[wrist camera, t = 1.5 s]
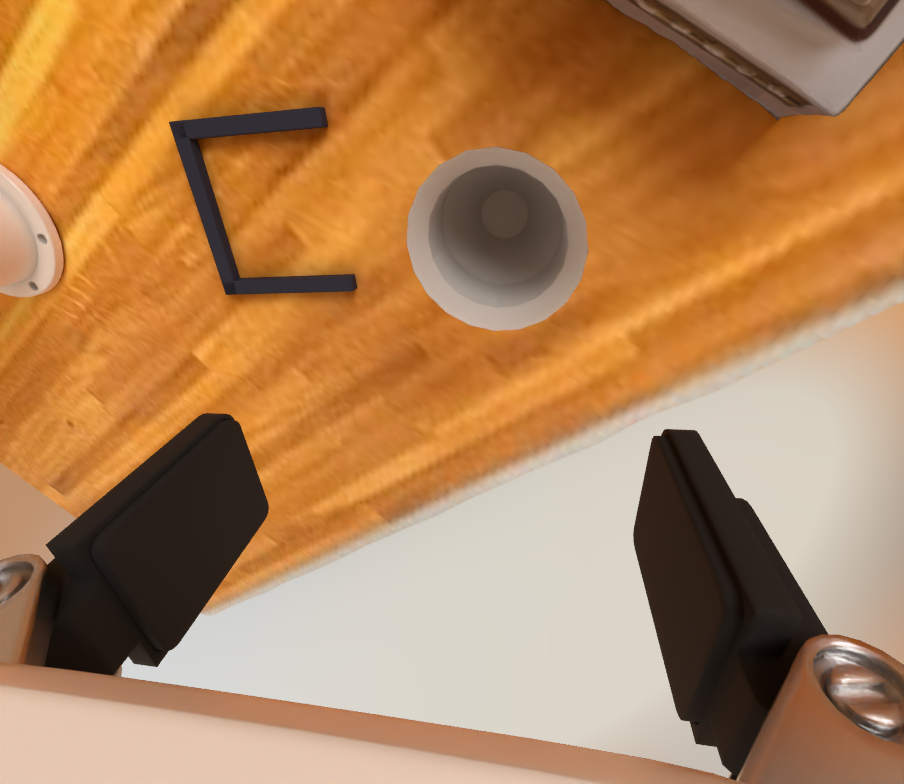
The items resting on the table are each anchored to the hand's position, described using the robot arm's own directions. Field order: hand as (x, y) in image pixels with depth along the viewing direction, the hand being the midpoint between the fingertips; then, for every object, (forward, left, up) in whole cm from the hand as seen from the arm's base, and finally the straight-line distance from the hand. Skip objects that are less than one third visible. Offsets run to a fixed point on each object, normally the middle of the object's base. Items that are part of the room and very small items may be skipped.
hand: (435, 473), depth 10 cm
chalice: (-2, +2, -29) cm, 29 cm away
